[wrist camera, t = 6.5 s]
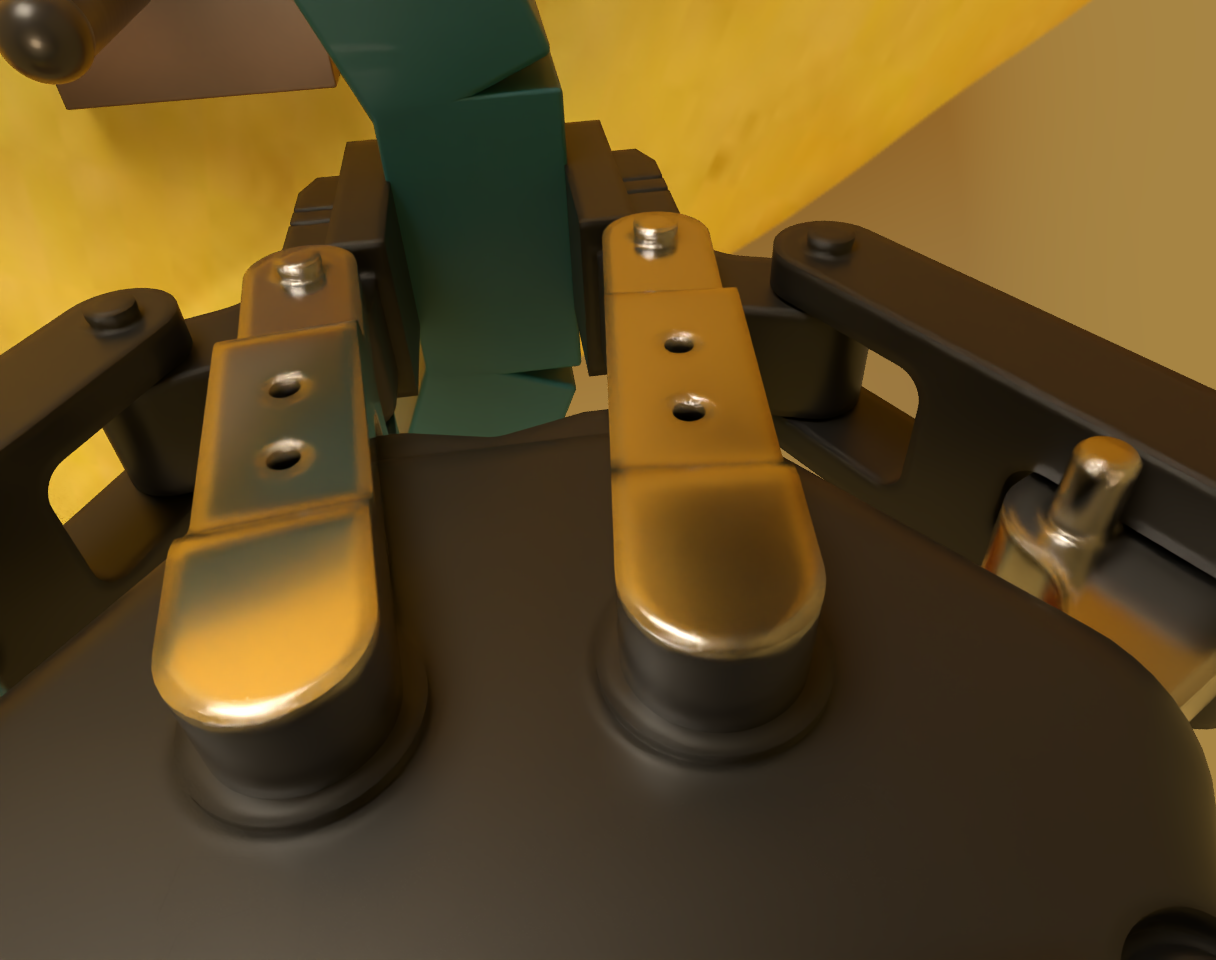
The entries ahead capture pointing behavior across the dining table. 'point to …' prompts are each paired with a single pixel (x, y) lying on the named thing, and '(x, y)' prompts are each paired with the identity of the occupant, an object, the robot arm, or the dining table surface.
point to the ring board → (163, 49)
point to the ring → (470, 200)
